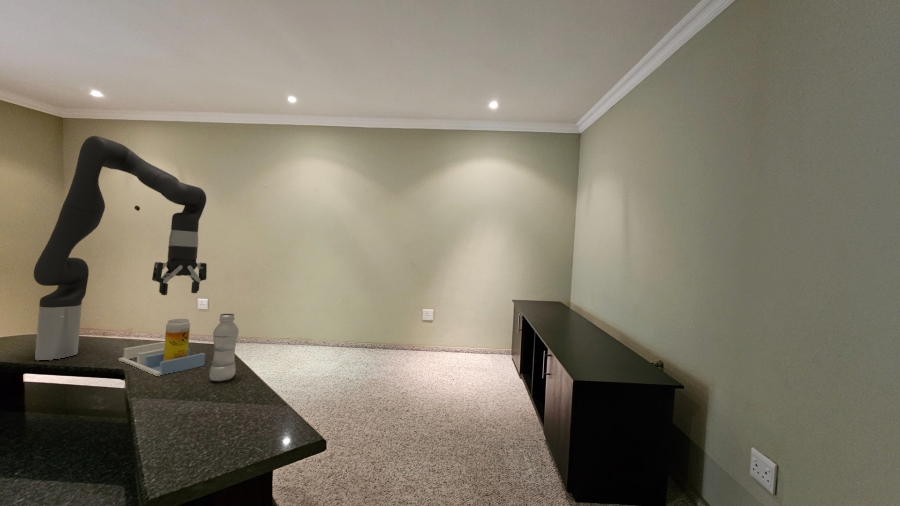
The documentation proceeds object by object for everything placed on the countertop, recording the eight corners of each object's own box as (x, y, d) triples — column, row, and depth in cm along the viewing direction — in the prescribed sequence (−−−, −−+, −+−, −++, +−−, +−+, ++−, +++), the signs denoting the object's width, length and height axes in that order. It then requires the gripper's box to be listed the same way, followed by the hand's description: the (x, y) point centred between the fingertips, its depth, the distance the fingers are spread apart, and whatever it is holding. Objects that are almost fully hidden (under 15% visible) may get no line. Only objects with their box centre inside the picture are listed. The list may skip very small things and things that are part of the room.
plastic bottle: (204, 380, 100) (209, 314, 100) (227, 374, 106) (232, 311, 106) (215, 385, 97) (221, 317, 97) (239, 379, 103) (244, 314, 103)
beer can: (176, 369, 106) (180, 322, 106) (157, 368, 106) (161, 321, 106) (191, 363, 112) (194, 319, 112) (173, 362, 112) (177, 318, 112)
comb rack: (118, 361, 110) (119, 349, 111) (165, 352, 122) (166, 341, 122) (156, 376, 100) (157, 363, 100) (204, 365, 112) (205, 353, 112)
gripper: (200, 245, 117) (197, 291, 117) (150, 242, 104) (146, 294, 104) (213, 246, 114) (209, 293, 114) (163, 244, 101) (159, 297, 101)
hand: (179, 293), depth 109 cm, fingers open, 8 cm apart
